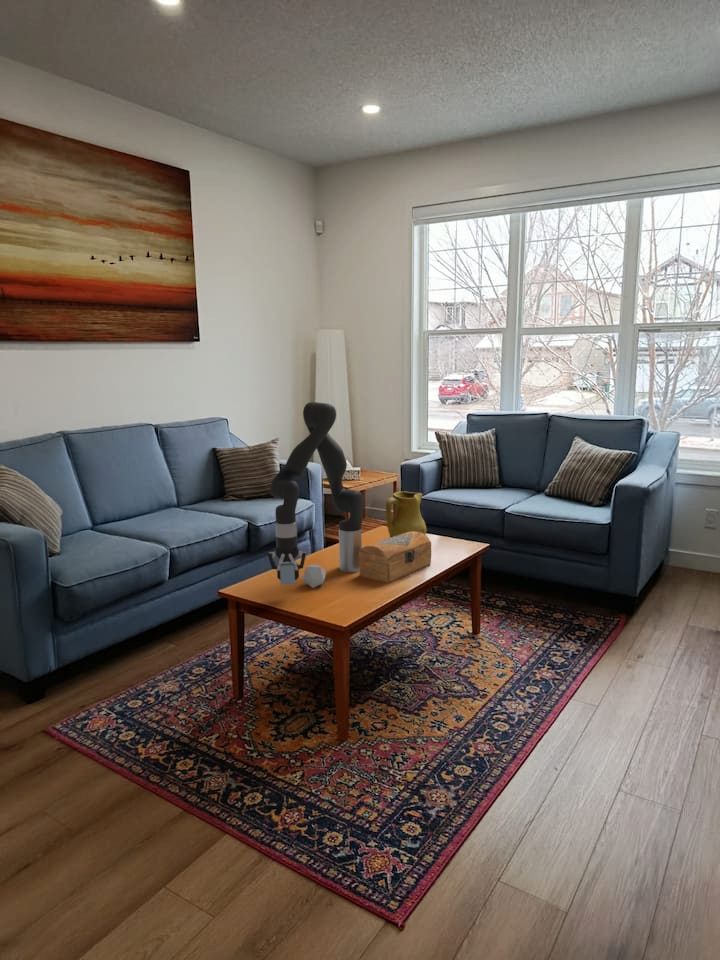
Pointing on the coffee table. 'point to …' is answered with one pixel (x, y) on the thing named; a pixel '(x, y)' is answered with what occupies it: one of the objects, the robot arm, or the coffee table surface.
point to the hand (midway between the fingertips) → (288, 579)
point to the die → (314, 575)
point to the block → (287, 573)
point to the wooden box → (395, 557)
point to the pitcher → (405, 514)
